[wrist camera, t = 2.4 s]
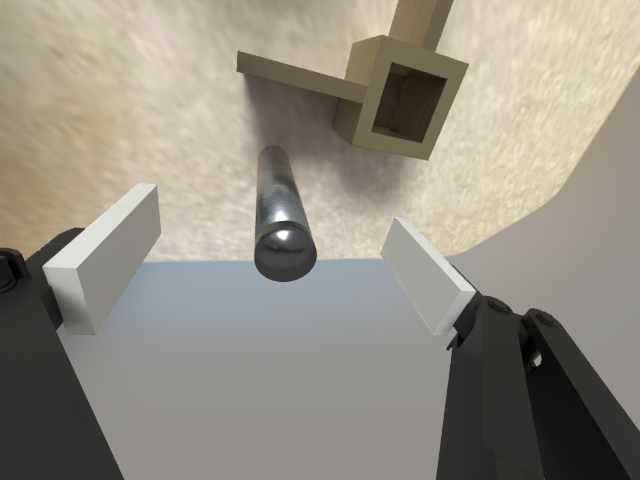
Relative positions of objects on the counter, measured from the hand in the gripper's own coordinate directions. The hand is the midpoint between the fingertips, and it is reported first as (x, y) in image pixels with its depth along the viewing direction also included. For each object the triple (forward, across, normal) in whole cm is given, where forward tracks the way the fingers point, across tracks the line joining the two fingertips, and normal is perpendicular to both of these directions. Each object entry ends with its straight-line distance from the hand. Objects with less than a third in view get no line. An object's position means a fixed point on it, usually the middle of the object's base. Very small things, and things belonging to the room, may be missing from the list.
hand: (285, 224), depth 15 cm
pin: (+11, 0, 0) cm, 11 cm away
